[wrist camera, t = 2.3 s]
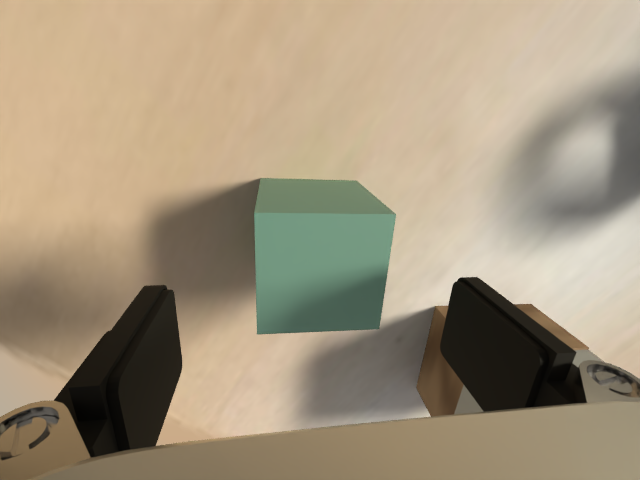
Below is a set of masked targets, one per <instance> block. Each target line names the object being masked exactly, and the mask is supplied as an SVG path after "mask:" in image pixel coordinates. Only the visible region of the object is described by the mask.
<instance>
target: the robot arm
mask: <svg viewBox="0 0 640 480" xmlns="http://www.w3.org/2000/svg"><path fill="white" fill-rule="evenodd" d="M440 351H441V354H442V356H443V357H444V358H445V360H446V361H447V363H448V364H449V365H450V367H451V368H452V369H453V371H454V372H455V373H456V375H457V376H458V378H459V379H460V380H461V382H462V383H463V384H464V386H465V387H466V388H467V390H468V391H469V392H470V394H471V395H472V397H473V398H474V399H475V401H476V402H477V403H478V405H479V406H480V407H481V409H482V410H483V412H475V413H464V414H453V415H443V416H432V417H422V418H412V419H401V420H391V421H381V422H371V423H361V424H351V425H341V426H331V427H321V428H312V429H302V430H293V431H283V432H273V433H264V434H254V435H245V436H235V437H226V438H216V439H207V440H198V441H188V442H182V443H174V444H167V445H160V446H156V443H157V440H158V437H159V434H160V432H161V429H162V426H163V423H164V420H165V417H166V414H167V412H168V409H169V406H170V403H171V400H172V397H173V394H174V391H175V388H176V386H177V383H178V380H179V377H180V374H181V370H182V355H181V347H180V339H179V330H178V322H177V314H176V306H175V298H174V292H173V290H168V289H167V287H166V286H165V285H157V286H144V287H143V288H142V290H141V291H140V292H139V294H138V295H137V296H136V298H135V299H134V300H133V302H132V303H131V304H130V306H129V307H128V308H127V310H126V311H125V312H124V314H123V315H122V316H121V318H120V319H119V320H118V322H117V323H116V324H115V326H114V327H113V328H112V330H111V331H108V332H106V333H105V334H104V336H103V337H102V338H101V339H100V341H99V342H98V343H97V345H96V346H95V347H94V349H93V350H92V351H91V353H90V354H89V355H88V356H87V358H86V359H85V360H84V362H83V363H82V364H81V366H80V367H79V368H78V369H77V371H76V372H75V373H74V375H73V376H72V377H71V379H70V380H69V381H68V383H67V384H66V385H65V386H64V388H63V389H62V390H61V392H60V393H59V394H58V396H57V397H56V398H55V400H54V401H40V402H35V403H31V404H28V405H25V406H22V407H20V408H17V409H15V410H13V411H11V412H9V413H7V414H5V415H3V416H1V417H0V480H640V379H639V378H637V377H636V376H634V375H633V374H631V373H630V372H628V371H626V370H624V369H622V368H620V367H617V366H614V365H612V364H609V363H605V362H601V361H595V360H587V361H583V362H582V363H580V365H579V367H577V366H576V365H574V364H573V360H574V358H575V355H576V353H577V352H576V351H574V350H573V349H572V348H571V347H569V346H568V345H567V344H565V343H564V342H563V341H561V340H560V339H559V338H557V337H556V336H555V335H553V334H552V333H551V332H549V331H548V330H547V329H545V328H544V327H543V326H541V325H540V324H539V323H537V322H536V321H535V320H533V319H532V318H531V317H530V316H528V315H527V314H526V313H524V312H523V311H522V310H520V309H519V308H518V307H516V306H515V305H514V304H512V303H511V302H510V301H508V300H507V299H506V298H504V297H503V296H502V295H500V294H499V293H498V292H496V291H495V290H494V289H492V288H491V287H490V286H489V285H487V284H486V283H485V282H483V281H482V280H481V279H479V278H477V277H467V278H459V279H458V281H457V282H455V283H454V284H453V287H452V292H451V296H450V301H449V306H448V310H447V315H446V319H445V324H444V329H443V333H442V338H441V342H440Z"/></svg>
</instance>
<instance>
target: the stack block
mask: <svg viewBox="0 0 640 480" xmlns="http://www.w3.org/2000/svg"><path fill="white" fill-rule="evenodd" d="M395 218H396V214H395V213H394V212H393V211H391V210H390V209H389V208H388V207H387V206H386V205H384V204H383V203H382V202H381V201H380V200H379V199H377V198H376V197H375V196H374V195H373V194H371V193H370V192H369V191H368V190H367V189H366V188H364V187H363V186H362V185H361V184H360V183H359V182H357V181H347V180H310V179H272V178H261V179H260V184H259V190H258V195H257V200H256V206H255V211H254V225H255V267H256V309H257V334H276V333H300V332H323V331H347V330H370V329H379V326H380V320H381V313H382V306H383V299H384V293H385V286H386V279H387V272H388V265H389V259H390V252H391V245H392V238H393V231H394V225H395Z"/></svg>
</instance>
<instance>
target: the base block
mask: <svg viewBox="0 0 640 480" xmlns="http://www.w3.org/2000/svg"><path fill="white" fill-rule="evenodd" d="M514 305H515V306H516V307H518V308H519V309H520V310H522V311H523V312H524V313H526V314H527V315H528V316H530V317H531V318H532V319H533V320H535V321H536V322H537V323H539V324H540V325H541V326H543V327H544V328H545V329H547V330H548V331H549V332H551V333H552V334H553V335H555V336H556V337H557V338H559V339H560V340H561V341H563V342H564V343H565V344H567V345H568V346H569V347H571V348H572V349H573V350H588V349H589V347H587V346H586V345H585V344H583V343H582V342H581V341H579V340H578V339H577V338H575V337H574V336H573V335H571V334H570V333H569V332H567V331H566V330H565V329H563V328H562V327H561V326H559V325H558V324H557V323H555V322H554V321H553V320H552V319H550V318H549V317H548V316H546V315H545V314H544V313H542V312H541V311H540V310H538V309H537V308H536V307H534V306H533V305H532V304H514ZM447 310H448V306H435V310H434V314H433V318H432V323H431V327H430V331H429V335H428V340H427V344H426V348H425V352H424V357H423V361H422V365H421V370H420V374H419V378H418V382H417V387H416V388H417V390H418V392H419V394H420V396H421V398H422V400H423V402H424V404H425V406H426V408H427V409H428V411H429V413H430V415H431V417H432V416H443V415H453V414H454V413H455V410H456V407H457V404H458V401H459V398H460V395H461V391H462V388H463V385H464V384H463V383H462V382H461V380H460V379H459V378H458V376H457V375H456V373H455V372H454V371H453V369H452V368H451V367H450V365H449V364H448V363H447V361H446V360H445V358H444V357H443V356H442V354H441V351H440V342H441V338H442V333H443V329H444V324H445V319H446V315H447Z"/></svg>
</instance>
